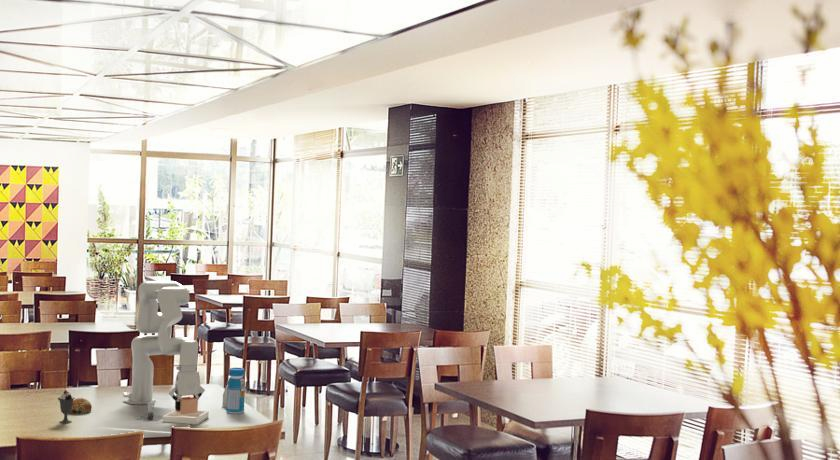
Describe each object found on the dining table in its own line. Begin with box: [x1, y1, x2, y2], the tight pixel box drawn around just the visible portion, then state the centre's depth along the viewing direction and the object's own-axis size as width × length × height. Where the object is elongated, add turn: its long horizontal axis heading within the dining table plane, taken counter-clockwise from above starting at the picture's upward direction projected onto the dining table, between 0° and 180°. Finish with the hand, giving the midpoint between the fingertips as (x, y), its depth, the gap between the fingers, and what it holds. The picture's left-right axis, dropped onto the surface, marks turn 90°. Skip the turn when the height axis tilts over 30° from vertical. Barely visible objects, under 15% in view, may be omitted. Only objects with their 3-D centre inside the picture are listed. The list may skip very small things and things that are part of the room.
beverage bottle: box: [225, 367, 246, 415], centre depth 376 cm, size 8×8×20 cm
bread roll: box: [68, 397, 93, 415], centre depth 363 cm, size 10×10×8 cm
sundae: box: [57, 385, 76, 425], centre depth 343 cm, size 7×7×15 cm
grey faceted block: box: [221, 385, 228, 409], centre depth 385 cm, size 4×7×10 cm, turn 62°
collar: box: [174, 395, 199, 414], centre depth 355 cm, size 7×7×6 cm
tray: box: [161, 409, 209, 427], centre depth 355 cm, size 15×15×3 cm
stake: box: [134, 402, 163, 422], centre depth 354 cm, size 10×10×7 cm
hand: (186, 409), depth 355 cm, fingers closed on collar, 7 cm apart
